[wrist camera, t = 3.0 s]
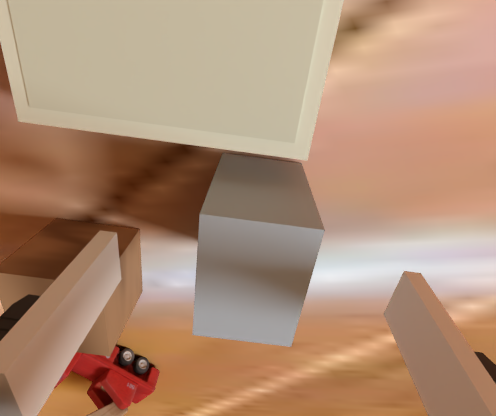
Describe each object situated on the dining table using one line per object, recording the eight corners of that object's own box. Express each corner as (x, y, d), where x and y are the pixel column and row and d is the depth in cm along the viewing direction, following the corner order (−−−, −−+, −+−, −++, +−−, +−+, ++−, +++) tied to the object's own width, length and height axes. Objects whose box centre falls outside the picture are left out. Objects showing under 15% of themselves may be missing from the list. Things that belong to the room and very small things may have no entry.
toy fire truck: (68, 312, 26) (-25, 439, 18) (192, 383, 30) (165, 515, 22) (51, 331, 27) (-44, 459, 19) (172, 397, 31) (139, 526, 23)
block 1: (69, 281, 25) (15, 344, 19) (56, 217, 22) (-10, 271, 16) (142, 290, 25) (109, 356, 19) (139, 228, 22) (100, 285, 17)
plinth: (66, 107, 18) (16, 122, 14) (30, -127, 13) (-57, -194, 10) (298, 139, 18) (307, 161, 15) (343, -79, 14) (373, -126, 10)
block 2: (214, 244, 22) (192, 335, 15) (222, 152, 19) (199, 213, 12) (281, 252, 22) (290, 346, 15) (301, 163, 19) (324, 230, 12)
